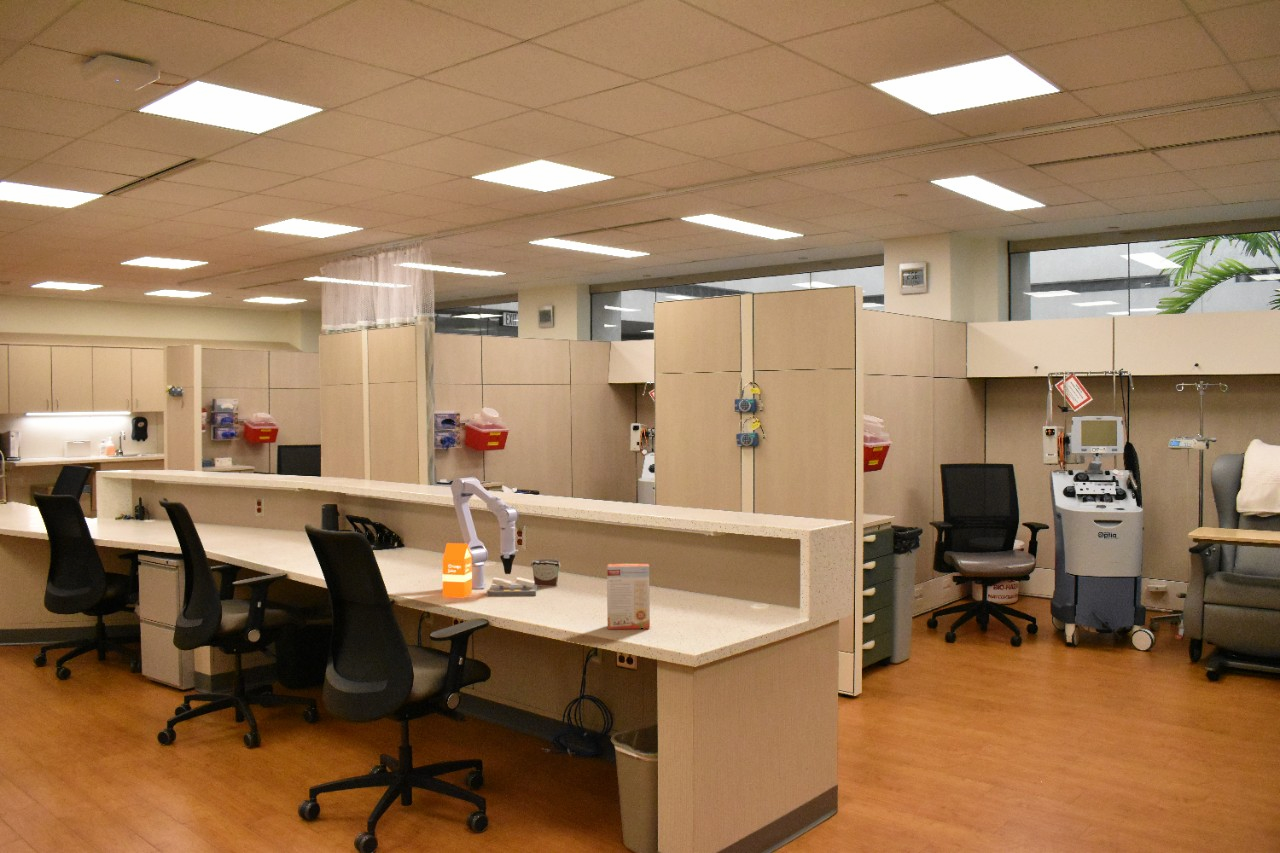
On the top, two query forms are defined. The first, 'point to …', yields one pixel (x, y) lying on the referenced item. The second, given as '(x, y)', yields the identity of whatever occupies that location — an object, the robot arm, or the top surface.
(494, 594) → the switch board
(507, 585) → the rocker
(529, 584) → the plate
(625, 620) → the cracker box
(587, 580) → the top surface
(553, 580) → the food container
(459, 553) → the orange juice
